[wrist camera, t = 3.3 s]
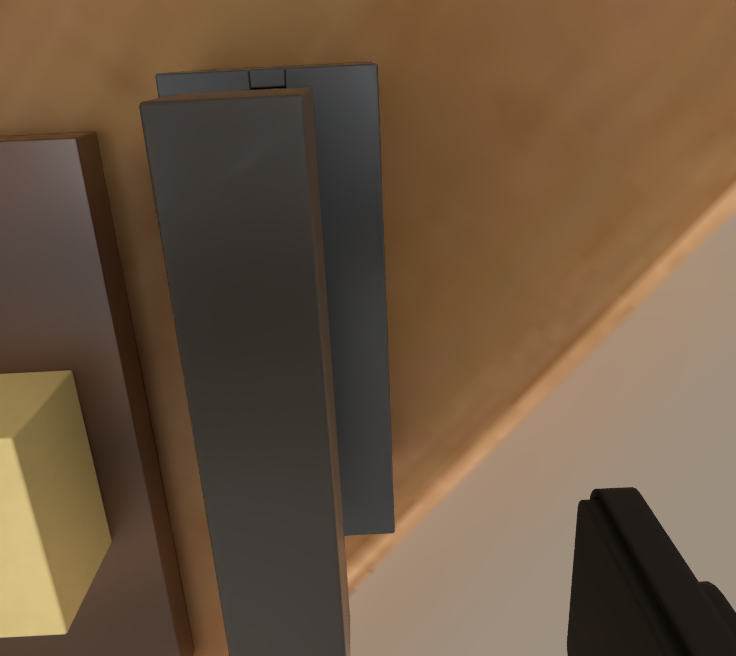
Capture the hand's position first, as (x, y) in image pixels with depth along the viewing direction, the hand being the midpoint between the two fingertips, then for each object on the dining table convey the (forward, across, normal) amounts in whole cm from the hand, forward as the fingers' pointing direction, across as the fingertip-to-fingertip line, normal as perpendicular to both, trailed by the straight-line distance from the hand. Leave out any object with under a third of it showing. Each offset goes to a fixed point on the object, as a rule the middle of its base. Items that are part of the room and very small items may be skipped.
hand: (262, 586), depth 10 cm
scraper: (+12, 0, -1) cm, 13 cm away
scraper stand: (+12, 0, -1) cm, 13 cm away
